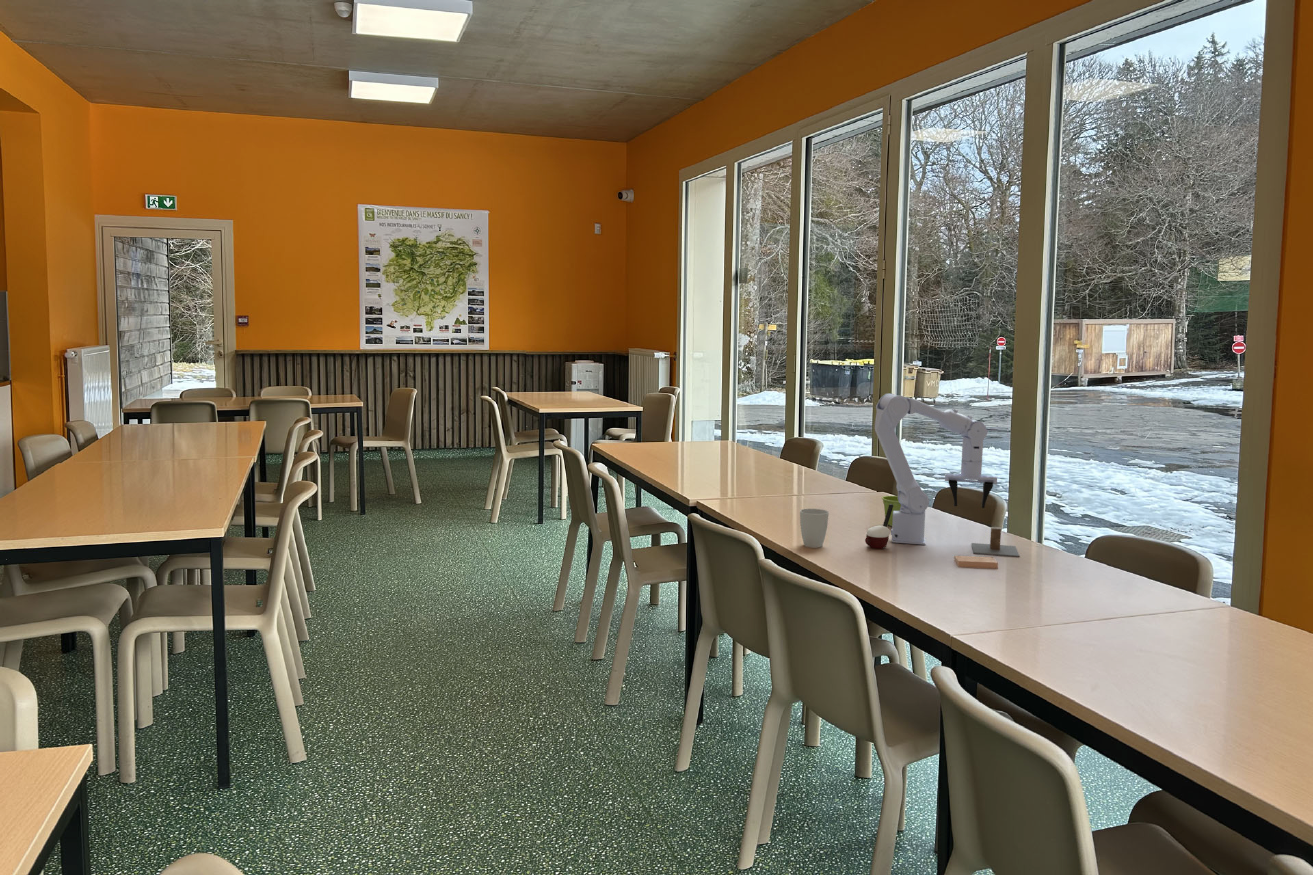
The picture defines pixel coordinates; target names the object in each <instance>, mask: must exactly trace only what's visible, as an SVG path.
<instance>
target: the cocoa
mask: <svg viewBox="0 0 1313 875" xmlns="http://www.w3.org/2000/svg"><path fill="white" fill-rule="evenodd" d="M892 509H893V504H889V507H888V510H887V514H886V517H885V516H884V521H883V524H882V525H874V526H872V527H870V528H868V529H867V530H866V537H865V538H864V542H865V544H866V545H867V546H868V547H870V548H871V549H874V550H875V549H876V550H882V549H884V548H886V547H887V546H888V543H889V537H890V535H891V530H890V529H889V527H888V526H889V525H888V522H889V519H890V515H891V512H892Z"/></svg>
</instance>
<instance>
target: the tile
mask: <svg viewBox="0 0 1313 875" xmlns="http://www.w3.org/2000/svg"><path fill="white" fill-rule="evenodd" d="M953 559H954V560H953V561H954V563H955V564H956V566H957V567H958V568H974V569H975V568H977V569H979V568H980V569H998V568H999V567H998V566H999V562H998V561H997V560H996V559H995V558H994V557H993V556H971V555H970V556H969V555H968V556H967V555H954V557H953Z"/></svg>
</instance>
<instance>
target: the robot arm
mask: <svg viewBox="0 0 1313 875" xmlns="http://www.w3.org/2000/svg"><path fill="white" fill-rule="evenodd" d="M875 409H876V414H875V422H874V431H875V434H876V436H877V438H878V441H879V443H880V446H881V448H882V451H883V453H884V455H885V457H886V460H887V462H888V464H889V467H890V470H891V472H892V475H893V476H894V479H895V481H896V482H895V483H896V487H895V488H896V490H897V496H898V501H899V503H900V504H901V507H900V511H893V522H892V526H891V529H890V536H891V543H897V544H899V543H900V544H909V545H910V544H912V545H926V537H925V528H926V527H925V526H926V523H925V522H926V510H927V509H928V508H929V505H930V499H929V496H928V495H927V493H925V492H924V491H923V490H922V488H921V486H920V485H919V483H918V482H917V480H916V479H915V477H914V474H913V472H912V470H911V467H910V464H909V462H908V460H907V458H906V455H905V453H904V450H903V448H902V445H901V443H900V440H899V438H898V436H897V434H896V431H895V430H896V428H897V426H898V424H899V422H901V420H902V419H904V418H905V417H906V415H907V414H908V415H912V414H918V415H920V416H924V417H926V418H929V419H932V420H935V421H936V422H937V423H938V424H939V426H940V427H941V428H942V429H945V430H947V431H949V432H951V433H954V434H957V435H958V436H961V437H962V444H961V446H962V447H961V467H960V473H945V474H944V482H948V485H949V488H950V490H951V494H952V497H953V506H954V507H957V506H958V486H959V485H958V482H960V483H961V482H963V483H978V484H979V483H980V484H982V497H981V508H982V509H985V506H986V503H987V499H988V497H989V495H990V493H991V491H992V489H993V487H994V485H997V484H998V476H993V475H984V474H982V471H983V470H982V468H983V467H982V466H983V464H982V463H983V449H984V440H985V438H986V437H987V436H988V433H989V432H988V430H987V427H986V425H985V423H984V422H982V421H979V420H976V419H973V417H972V415H971V416H970V415H965V414H962V413H959V410H958V409H955V408H951V409H949V408H948V409H945V410H942V409H938V408H935V407H934V406H931V405H930V404H927V403H925V402H923V401H920V400H918V399H915V398H911V397H906V396H904V395H897V394H894V393H884V394H883V395H882V396H881V397H880V398H879V400H878V402H877V404H876V406H875Z"/></svg>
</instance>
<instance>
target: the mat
mask: <svg viewBox="0 0 1313 875" xmlns="http://www.w3.org/2000/svg"><path fill="white" fill-rule="evenodd" d="M971 547H972V553H973V555H984V556H985V555H986V556H999V557H1001V556H1002V557H1012V558H1013V557H1014V558H1020V554H1019V551H1018V549H1017V547H1016V545H1004V544H1003V545H1002V544H1000V550H993V549H990V543H977V542H975V543H974V542H971Z"/></svg>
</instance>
